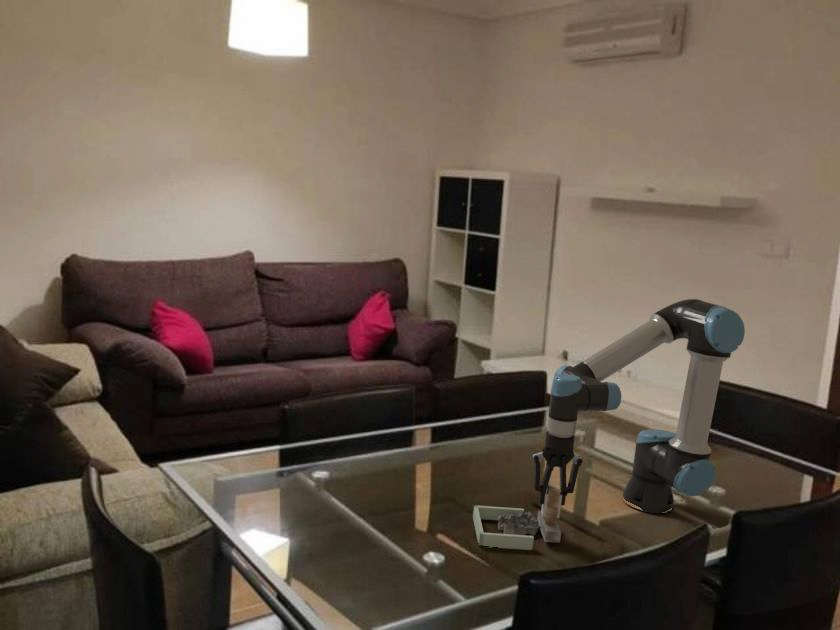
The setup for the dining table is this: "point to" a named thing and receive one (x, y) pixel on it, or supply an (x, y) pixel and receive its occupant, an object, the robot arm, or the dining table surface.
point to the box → (494, 538)
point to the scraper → (550, 516)
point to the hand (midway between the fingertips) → (550, 515)
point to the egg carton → (518, 524)
